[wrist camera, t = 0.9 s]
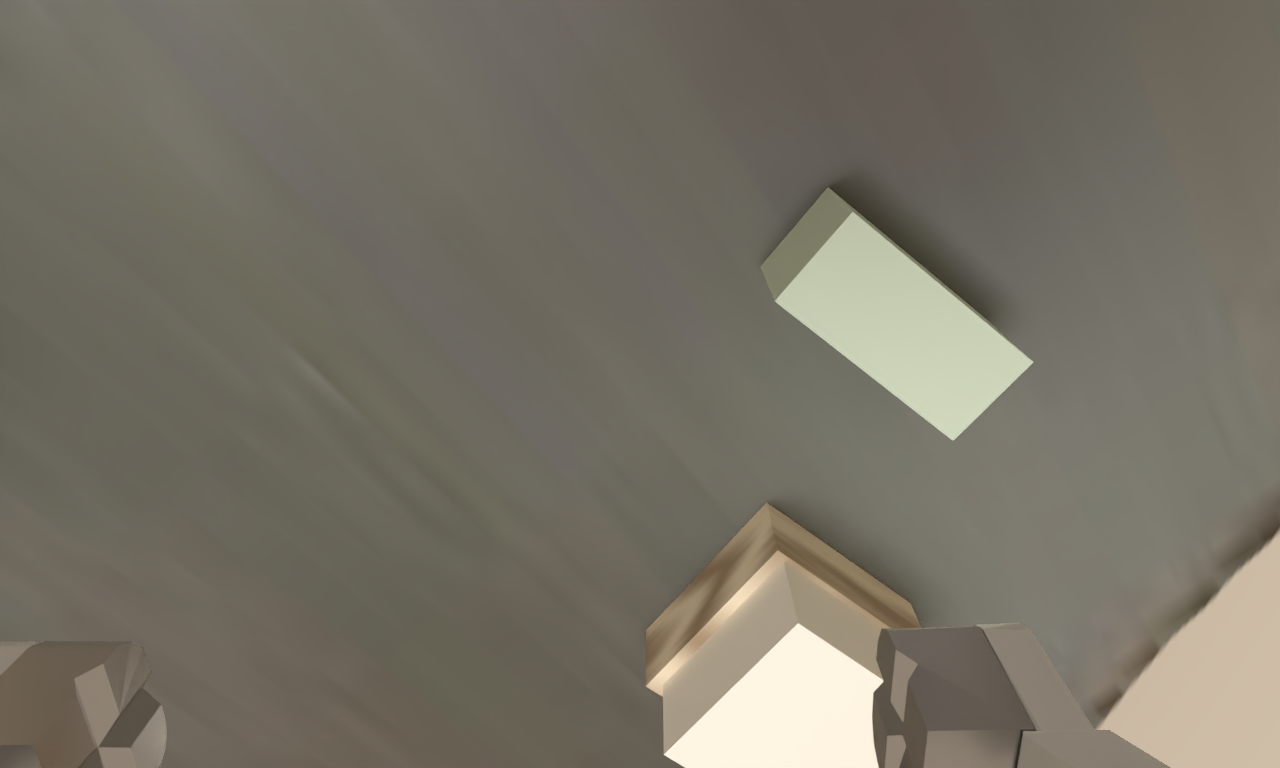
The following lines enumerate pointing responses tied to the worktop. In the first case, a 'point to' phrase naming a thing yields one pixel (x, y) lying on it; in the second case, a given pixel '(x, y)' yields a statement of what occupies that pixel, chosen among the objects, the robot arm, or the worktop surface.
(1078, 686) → the worktop surface
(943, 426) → the green bar
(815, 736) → the tower top
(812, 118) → the worktop surface
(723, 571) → the tower base
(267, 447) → the worktop surface
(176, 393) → the worktop surface
